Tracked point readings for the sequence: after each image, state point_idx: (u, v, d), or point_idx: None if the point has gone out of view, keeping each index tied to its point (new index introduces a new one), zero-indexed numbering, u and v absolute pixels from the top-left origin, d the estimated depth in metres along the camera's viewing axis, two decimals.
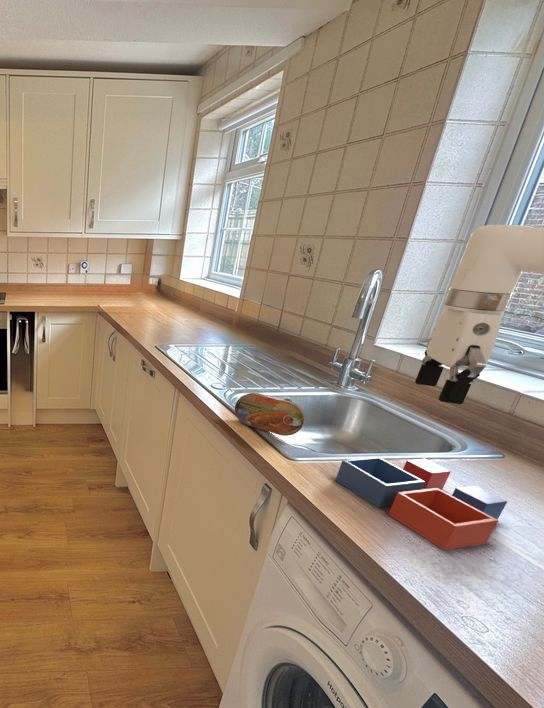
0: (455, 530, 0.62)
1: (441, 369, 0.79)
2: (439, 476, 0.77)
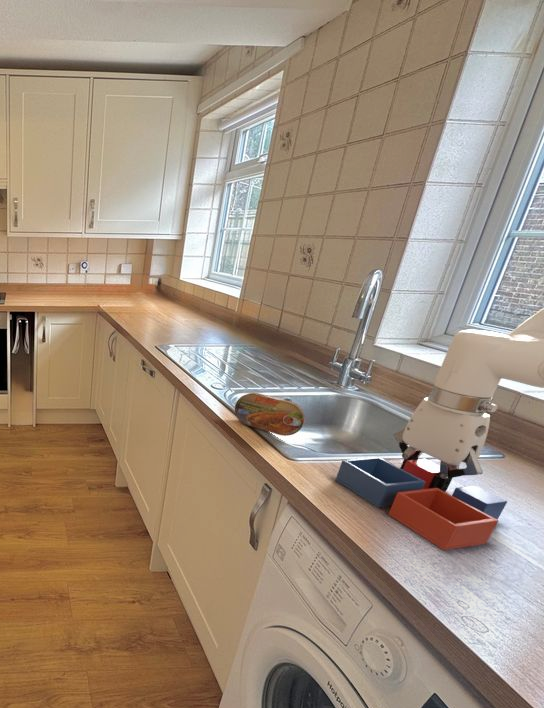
0: (455, 530, 0.62)
1: None
2: None
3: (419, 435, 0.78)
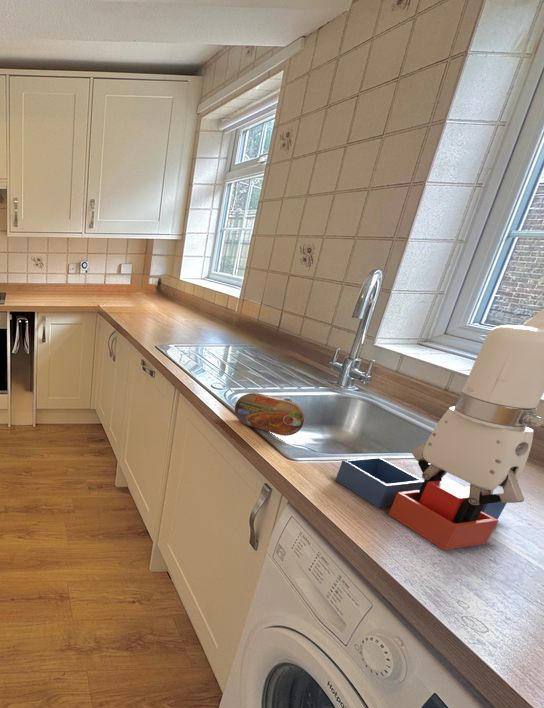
0: (455, 530, 0.62)
1: None
2: None
3: (444, 452, 0.65)
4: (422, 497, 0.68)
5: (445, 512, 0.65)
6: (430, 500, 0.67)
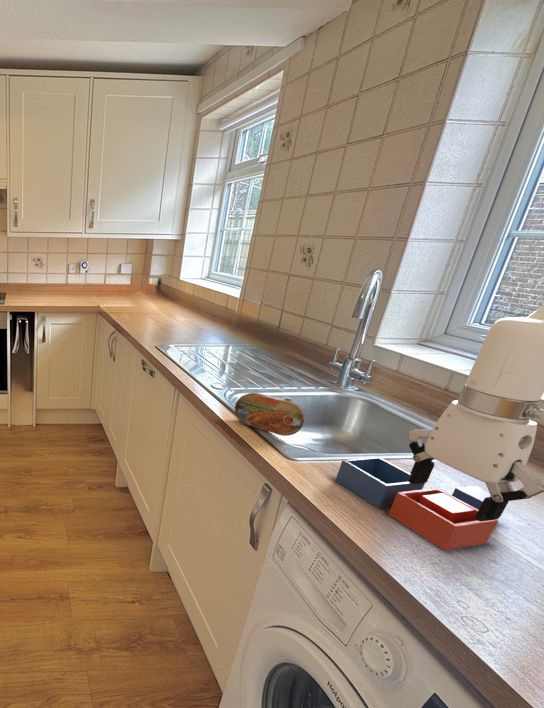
0: (455, 530, 0.62)
1: (433, 465, 0.69)
2: (461, 516, 0.65)
3: (446, 446, 0.64)
4: None
5: None
6: None
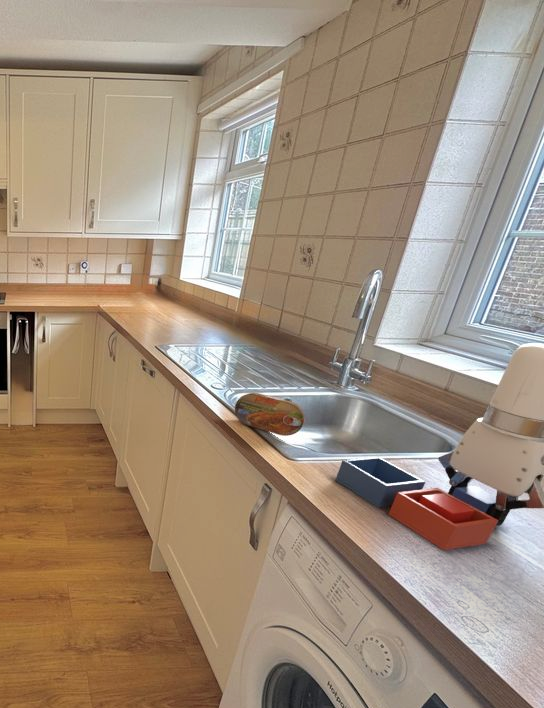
0: (455, 530, 0.62)
1: None
2: (461, 516, 0.65)
3: (471, 460, 0.69)
4: None
5: None
6: None
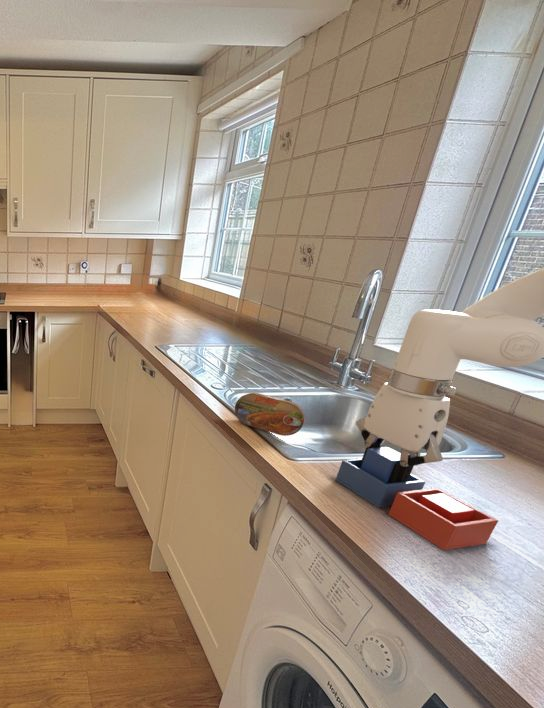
0: (455, 530, 0.62)
1: None
2: (461, 516, 0.65)
3: (380, 422, 0.74)
4: None
5: None
6: None
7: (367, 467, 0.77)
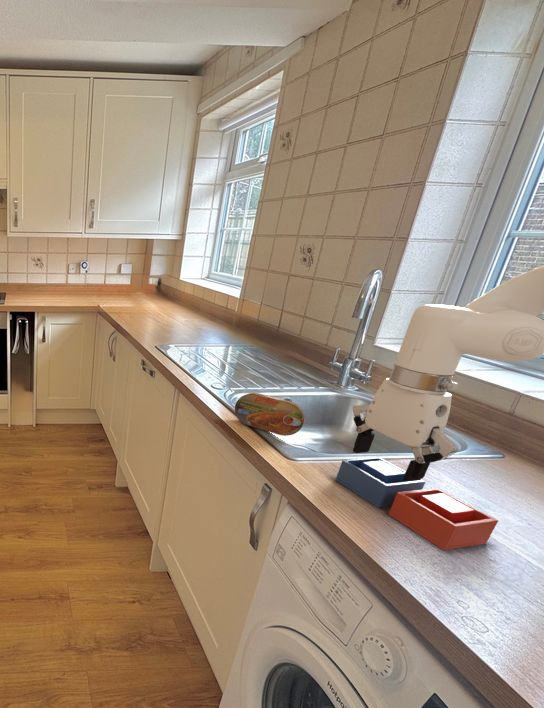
0: (455, 530, 0.62)
1: (373, 436, 0.79)
2: (461, 516, 0.65)
3: (381, 417, 0.74)
4: None
5: None
6: None
7: None
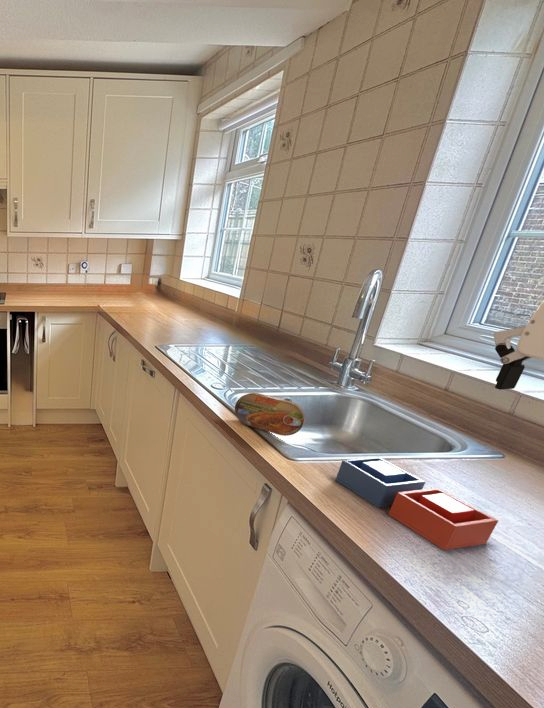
0: (455, 530, 0.62)
1: (523, 368, 0.64)
2: (461, 516, 0.65)
3: None
4: None
5: None
6: None
7: None
